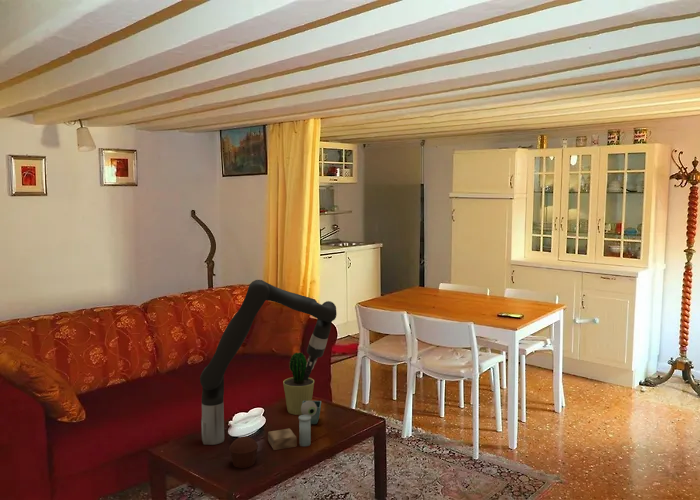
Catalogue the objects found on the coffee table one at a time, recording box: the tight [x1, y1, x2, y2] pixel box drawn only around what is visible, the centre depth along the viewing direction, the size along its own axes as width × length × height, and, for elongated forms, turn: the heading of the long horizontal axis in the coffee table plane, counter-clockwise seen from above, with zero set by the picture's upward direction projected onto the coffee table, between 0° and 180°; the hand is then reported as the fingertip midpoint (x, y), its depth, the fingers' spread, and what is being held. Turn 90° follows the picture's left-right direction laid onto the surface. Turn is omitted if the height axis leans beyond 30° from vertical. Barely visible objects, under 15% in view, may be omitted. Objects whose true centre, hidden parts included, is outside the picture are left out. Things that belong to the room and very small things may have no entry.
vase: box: [298, 415, 312, 447], centre depth 250 cm, size 5×5×12 cm
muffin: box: [228, 436, 259, 469], centre depth 232 cm, size 12×11×10 cm
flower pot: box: [302, 400, 322, 425], centre depth 274 cm, size 9×9×9 cm
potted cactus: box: [282, 352, 315, 416], centre depth 289 cm, size 15×15×30 cm
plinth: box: [267, 428, 298, 451], centre depth 251 cm, size 10×10×4 cm
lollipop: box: [301, 400, 317, 417], centre depth 261 cm, size 7×7×15 cm
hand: (307, 375), depth 264 cm, fingers open, 8 cm apart
